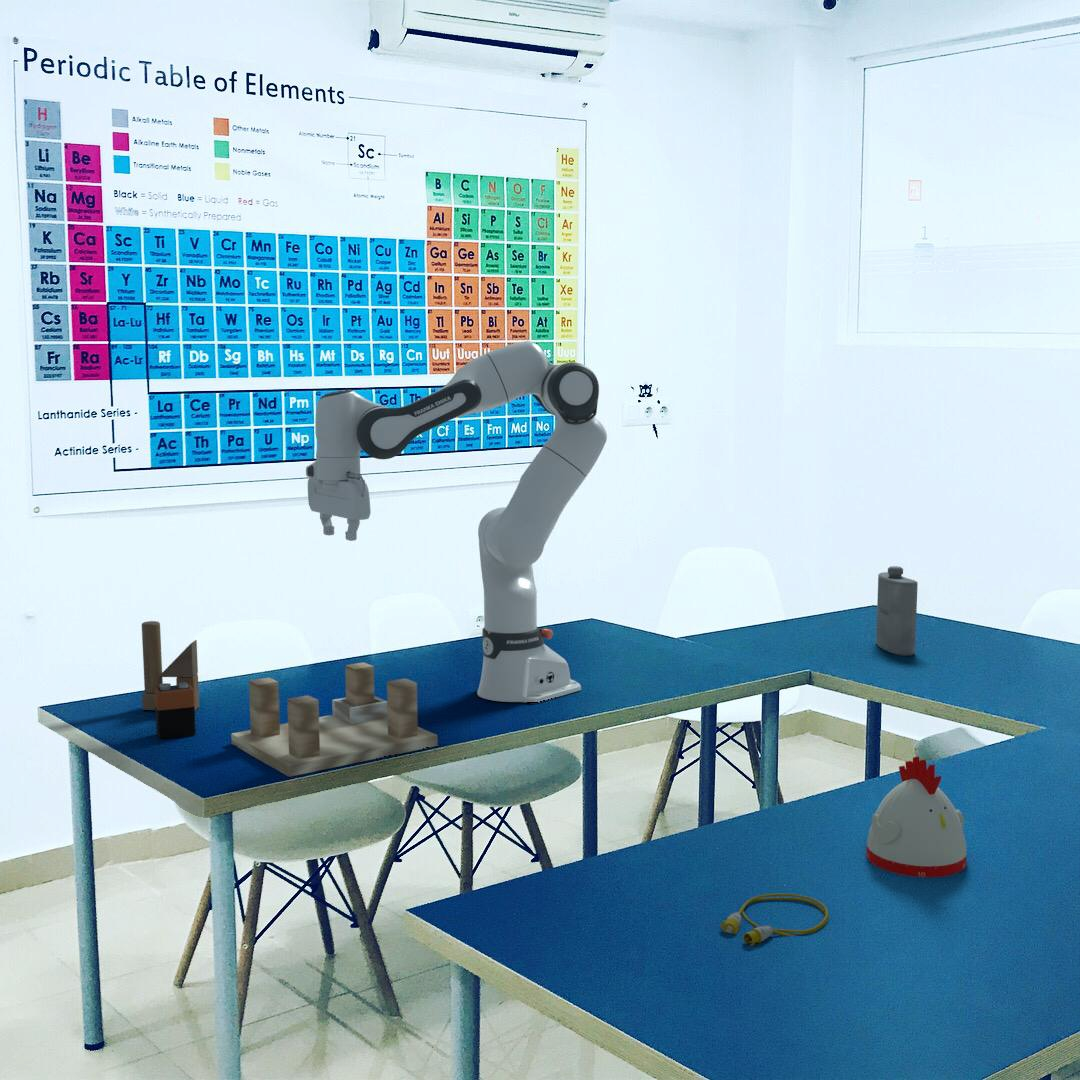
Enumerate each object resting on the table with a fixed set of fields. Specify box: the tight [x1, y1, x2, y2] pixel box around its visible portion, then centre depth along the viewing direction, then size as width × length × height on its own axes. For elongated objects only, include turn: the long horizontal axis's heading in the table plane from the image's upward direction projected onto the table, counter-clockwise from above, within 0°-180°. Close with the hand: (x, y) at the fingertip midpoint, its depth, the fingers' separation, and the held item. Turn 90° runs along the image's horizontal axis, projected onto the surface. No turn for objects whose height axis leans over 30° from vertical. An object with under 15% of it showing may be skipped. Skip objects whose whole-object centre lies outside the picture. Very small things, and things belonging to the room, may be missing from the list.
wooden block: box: [141, 620, 200, 711], centre depth 274 cm, size 4×11×18 cm, turn 87°
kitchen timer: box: [865, 756, 967, 878], centre depth 194 cm, size 14×14×15 cm
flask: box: [875, 565, 918, 657], centre depth 325 cm, size 15×6×20 cm, turn 9°
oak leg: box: [344, 662, 375, 707], centre depth 262 cm, size 4×4×10 cm
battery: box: [155, 682, 197, 740], centre depth 257 cm, size 4×7×10 cm, turn 114°
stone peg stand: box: [231, 677, 439, 778], centre depth 250 cm, size 30×24×12 cm
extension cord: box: [720, 892, 829, 947], centre depth 175 cm, size 12×16×2 cm
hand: (339, 537), depth 278 cm, fingers open, 8 cm apart
